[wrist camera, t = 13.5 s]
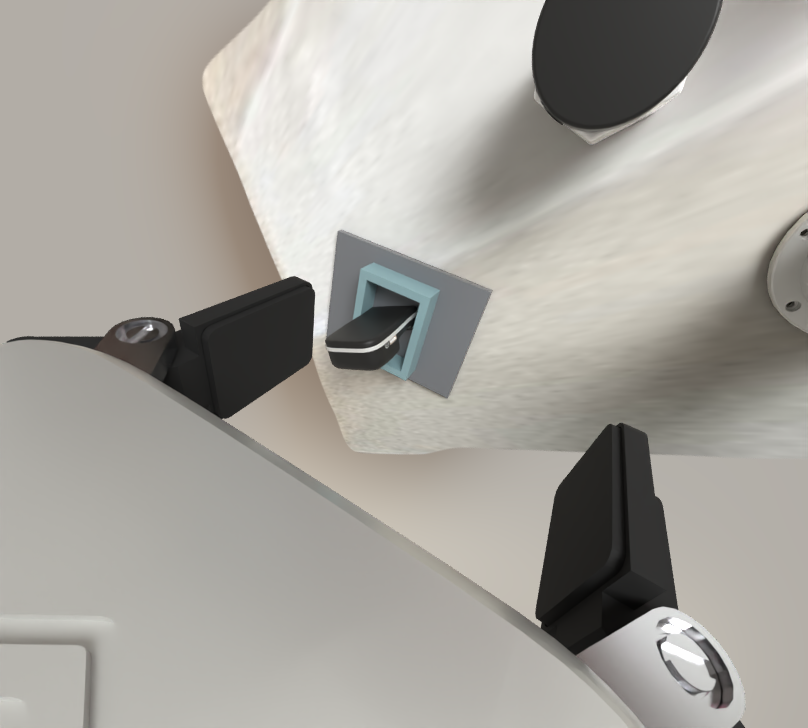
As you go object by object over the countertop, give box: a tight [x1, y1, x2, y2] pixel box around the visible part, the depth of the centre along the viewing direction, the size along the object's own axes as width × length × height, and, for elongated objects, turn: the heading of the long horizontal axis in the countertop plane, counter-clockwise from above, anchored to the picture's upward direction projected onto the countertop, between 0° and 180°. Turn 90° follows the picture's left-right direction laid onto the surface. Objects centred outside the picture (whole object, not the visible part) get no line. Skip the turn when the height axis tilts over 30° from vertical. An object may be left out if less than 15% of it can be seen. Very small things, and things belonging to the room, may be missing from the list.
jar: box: [532, 0, 723, 145], centre depth 22 cm, size 9×8×12 cm
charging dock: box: [327, 230, 493, 398], centre depth 43 cm, size 20×16×4 cm
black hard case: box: [325, 305, 418, 370], centre depth 40 cm, size 7×4×11 cm, turn 99°
